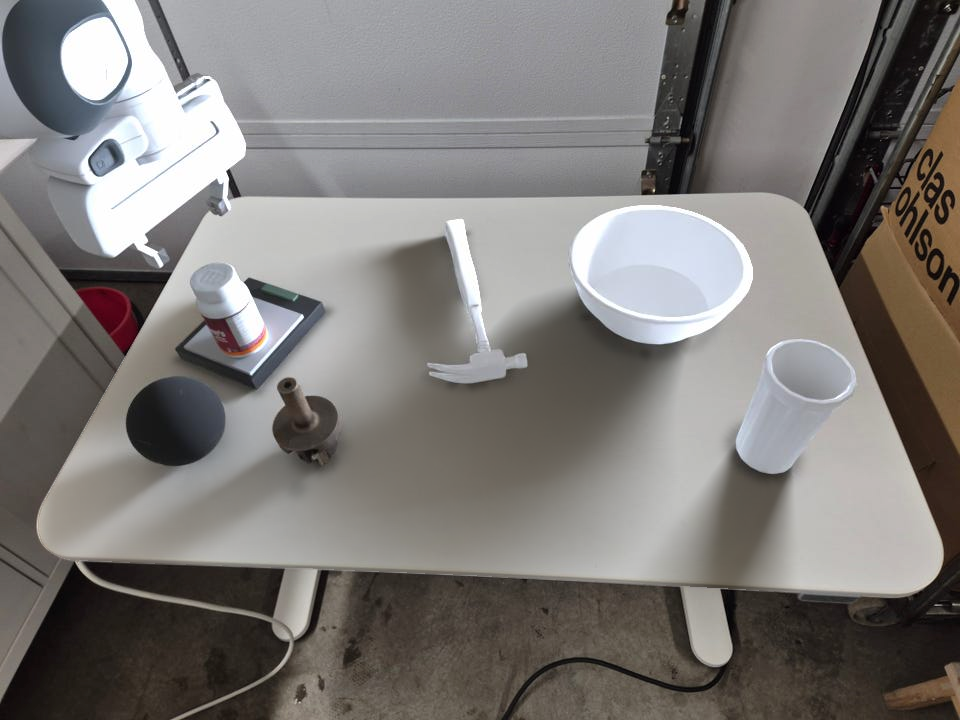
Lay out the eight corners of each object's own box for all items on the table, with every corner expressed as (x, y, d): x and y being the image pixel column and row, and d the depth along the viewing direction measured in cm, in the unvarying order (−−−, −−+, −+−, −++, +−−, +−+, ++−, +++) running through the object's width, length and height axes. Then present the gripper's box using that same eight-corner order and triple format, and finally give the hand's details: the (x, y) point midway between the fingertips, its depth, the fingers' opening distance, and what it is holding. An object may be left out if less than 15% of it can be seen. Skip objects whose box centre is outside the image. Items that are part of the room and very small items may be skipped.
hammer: (432, 391, 76) (429, 375, 73) (407, 240, 95) (404, 224, 92) (528, 374, 77) (528, 358, 74) (484, 228, 96) (483, 212, 93)
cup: (807, 434, 69) (861, 351, 58) (798, 494, 64) (855, 416, 53) (733, 411, 71) (771, 328, 60) (719, 467, 67) (758, 388, 56)
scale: (256, 390, 77) (249, 377, 75) (180, 358, 81) (171, 345, 79) (325, 311, 86) (321, 298, 84) (253, 287, 90) (247, 273, 88)
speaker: (233, 399, 76) (201, 347, 69) (243, 464, 70) (209, 414, 63) (150, 425, 74) (107, 374, 67) (152, 494, 68) (106, 447, 61)
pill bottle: (211, 345, 79) (173, 280, 70) (249, 317, 82) (217, 252, 73) (240, 367, 76) (204, 302, 68) (279, 337, 79) (249, 272, 71)
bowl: (669, 235, 92) (681, 187, 86) (771, 334, 79) (794, 286, 72) (536, 280, 87) (537, 233, 81) (620, 394, 74) (630, 349, 67)
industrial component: (293, 420, 74) (261, 356, 65) (352, 418, 74) (328, 353, 64) (276, 490, 68) (238, 430, 59) (341, 489, 67) (313, 428, 58)
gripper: (185, 60, 62) (234, 179, 73) (9, 164, 51) (97, 287, 61) (232, 69, 60) (276, 190, 71) (61, 180, 49) (143, 305, 59)
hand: (192, 236), depth 66 cm, fingers open, 8 cm apart
